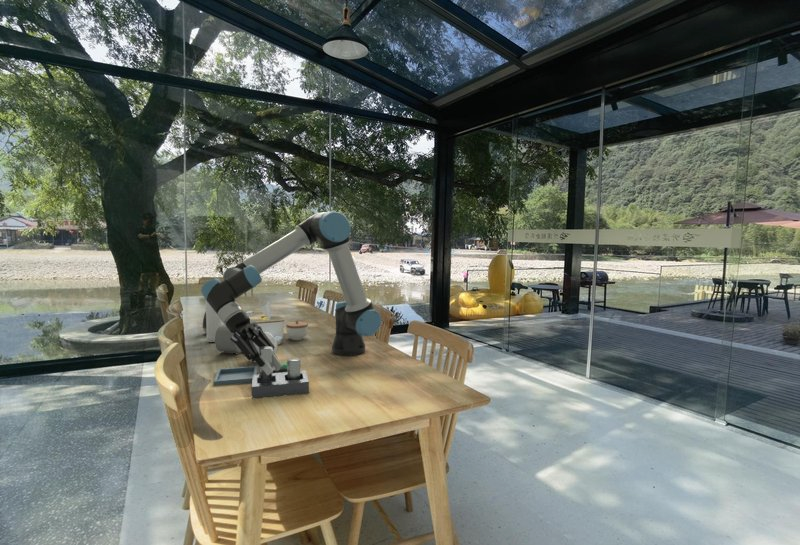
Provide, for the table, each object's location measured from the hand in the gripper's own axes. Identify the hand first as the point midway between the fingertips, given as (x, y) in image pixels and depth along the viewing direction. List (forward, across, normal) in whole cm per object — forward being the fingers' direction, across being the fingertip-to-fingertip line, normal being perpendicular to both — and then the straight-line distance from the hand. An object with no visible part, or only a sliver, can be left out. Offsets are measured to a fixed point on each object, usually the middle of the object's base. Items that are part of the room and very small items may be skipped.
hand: (275, 370), depth 140 cm
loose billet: (-1, 0, +5) cm, 5 cm away
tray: (-9, +6, +20) cm, 23 cm away
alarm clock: (-28, +37, +39) cm, 61 cm away
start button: (-1, +14, +9) cm, 16 cm away
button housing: (0, +14, +10) cm, 17 cm away
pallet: (+5, +3, +5) cm, 8 cm away
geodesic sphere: (-13, +26, +24) cm, 38 cm away
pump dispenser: (-52, +58, +63) cm, 100 cm away
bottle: (-43, +46, +54) cm, 83 cm away
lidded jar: (-19, +65, +30) cm, 74 cm away
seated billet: (+8, +6, +3) cm, 10 cm away
